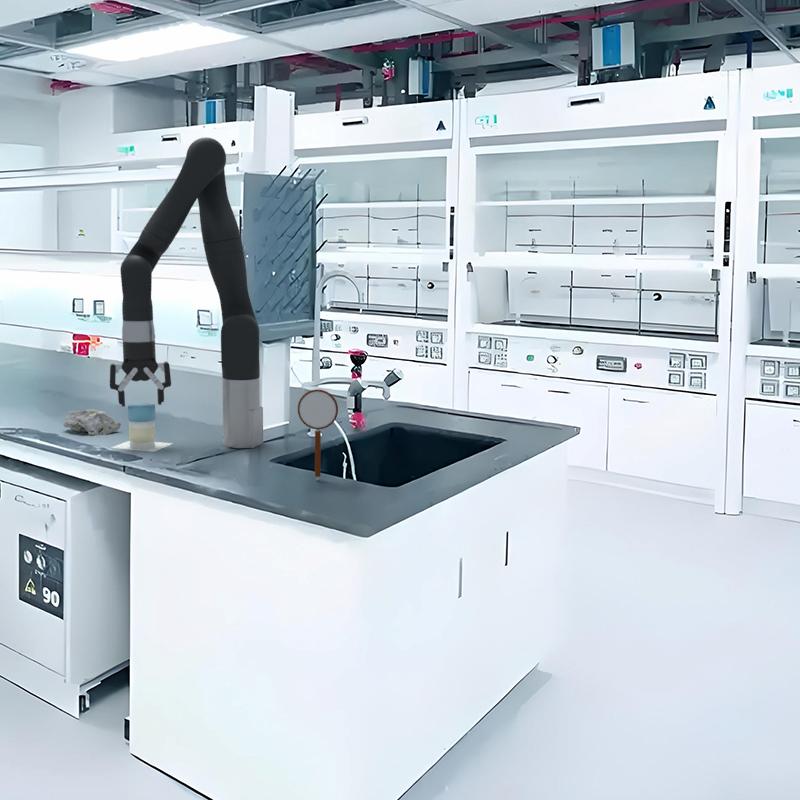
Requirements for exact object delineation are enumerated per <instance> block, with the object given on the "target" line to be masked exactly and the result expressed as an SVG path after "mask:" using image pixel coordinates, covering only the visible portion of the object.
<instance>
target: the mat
mask: <svg viewBox="0 0 800 800" xmlns="http://www.w3.org/2000/svg"><path fill="white" fill-rule="evenodd" d="M171 445H174V443H173V442H161V441H155V448H152V449H147V450H139V451H142V452H144V451H145V452H152V453H154V452H156V451H159V450H162V449H163V448H166V447H169V446H171ZM110 449H119V450H128V451H129V450H131V451H135V450H134V449H131V448H130V441H129V440H127V441H124V442H122V443H120V444H117V445H113V446H111V447H110Z"/></svg>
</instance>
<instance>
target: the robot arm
mask: <svg viewBox="0 0 800 800" xmlns="http://www.w3.org/2000/svg"><path fill="white" fill-rule="evenodd" d="M188 146H189V147H188V148H187V151H186V156H185V159H184V162H183V164H182V167H181V169H180V171H179V173H178V175H177V177H176V179H175V180H174V183H173V184H172V186H171V188H170V189H169V190H168V192H167V194H166V195H165V196H164V198H163V199H162V200H161V202H160V203H159V205H158V206H157V208H156V209H155V211H154V212H153V214H152V215H151V216H150V218H149V220H148V221H147V222H146V224H145V226H144V228H143V229H142V231H141V233H140V235H139V237H138V240H137V241H136V243H134V245H133V246H132V248H131V249H130V251H129V253H128V254H127V255H126V256H125V258H123V259H124V260H123V261H122V262H121V265H120V279H121V289H122V290H121V291H122V303H121V305H122V306H121V307H122V308H121V309H122V310H121V312H122V313H121V315H122V329H121V338H122V354H123V356H122V358H123V361H122V363H121V364H119V363H117V364H115V363H110V365H109V389H111V390H115V391H117V395H118V399H117V400H118V404H119V405H121V407H123V408H124V407H126V401H125V400H126V399H125V397H126V396H125V388H126V387H127V385H128V384H130V382H131V381H133V382H139V381H142V382H148V381H149V380H151V381H152V382H153V384H155V386H156V387H157V389H156V390H157V392H156V393H157V404H158V406H161V405H162V403H164V402H165V392H164V391H165V389H166V388H170V387H171V386H172V379H171V377H172V376H171V368H170V363H169V362H168V361H164V362H157V360H156V359H157V357H156V334H155V333H156V331H155V324H154V311H153V310H154V309H153V307H154V306H153V300H152V288H153V287H152V283H153V282H152V279H153V278H152V273H153V271H154V269H155V268H156V266H157V264H158V263H159V261H160V259H161V257H162V256H163V255H164V254H165V253H166V251H168V249H169V247H170V245H172V243H173V241H174V240H175V238H176V236H177V235H178V233H179V231H180V230H181V228H182V226H183V224H184V222H185V221H186V219H187V217H188V215H189V213H190V211H191V209H192V208H193V206H194V204H195V202H196V201H197V203H198V208H199V209H198V211H199V223H200V224H199V225H200V231H201V237H202V244H203V247H204V248H203V249H204V253H205V258H206V262H207V266H208V269H209V271H210V274H211V278H212V280H213V283H214V287H215V288H216V290H217V293H218V296H219V302H220V309H221V310H220V311H221V317H222V318H221V319H222V325H221V329H220V353H221V355H220V356H221V359H220V360H221V364H220V365H221V375H222V380H221V381H222V383H221V384H222V385H221V386H222V428H223V429H222V433H223V435H222V438H223V441H222V442H223V445H224V446H225V447H229V448H232V449H248V448H249V449H255V448H257V447H258V446H261V445H262V444H264V407H263V406H261V401H260V400H261V399H260V398H261V395H260V394H261V392H260V391H261V385H260V382H261V381H260V380H261V379H260V373H261V372H260V371H261V370H260V367H261V365H260V327H259V326H260V325H259V322H258V321H257V317H256V315H255V312H254V309H253V305H252V302H251V298H250V294H249V290H248V277H247V276H248V274H247V266H246V265H247V264H246V259H245V252H244V247H243V241H242V236H241V231H240V229H239V225H238V222H237V219H236V215H235V213H234V211H233V209H232V208H233V207H232V205H231V204H230V201H229V196H228V191H227V182H226V173H225V167H226V163H227V154H226V151H225V148H224V147H223V145H222V143H220V142H219V141H218V140H216V139H215V138H212V137H205V136H204V137H201V138H198V139H195V140H194V141H192V143H190V145H188ZM158 369H160V370H161V371H162V372H163V373H164V381H163V382H161V381H160V380H159V378H158V377H157V376H156V375H155V373H156V371H157V370H158ZM120 370H122V371H123V372H124V373H125V375H124V377H123V379H122V380H121V381H120V383H119V384H117V383H116V378H117V377H116V374H118V373H120Z"/></svg>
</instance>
